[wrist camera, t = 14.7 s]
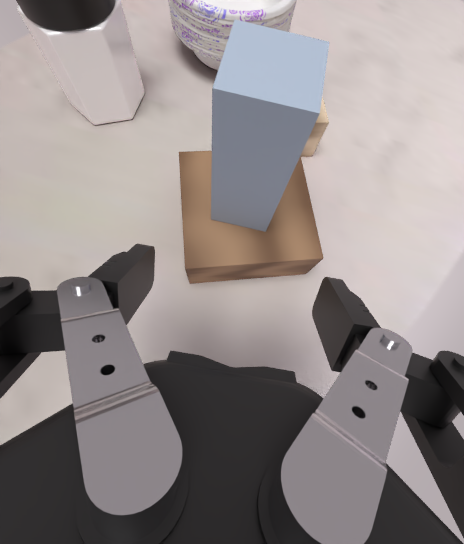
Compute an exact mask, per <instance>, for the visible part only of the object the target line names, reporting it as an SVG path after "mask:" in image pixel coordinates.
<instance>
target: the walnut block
mask: <svg viewBox="0 0 464 544" xmlns="http://www.w3.org/2000/svg"><path fill="white" fill-rule="evenodd" d="M179 163H180V181H181V200H182V218H183V237H184V255H185V270H186V273H187V276H188V279H189V282H190V284H191V283H203V282H215V281H227V280H239V279H251V278H263V277H276V276H288V275H300V274H306V273H307V272H309V271H310V270H311V269H312V268H313V267H314V266H315V265H316V264H318V263H319V262H320V261H321V260H322V259H323V254H322V250H321V245H320V241H319V236H318V232H317V227H316V223H315V218H314V214H313V210H312V205H311V201H310V196H309V192H308V187H307V183H306V178H305V174H304V170H303V165H302V161H301V156H300V158H299V160H298V162H297V164H296V167H295V169H294V171H293V173H292V175H291V177H290V180H289V182H288V184H287V186H286V188H285V191H284V193H283V195H282V197H281V199H280V202H279V204H278V206H277V208H276V210H275V213H274V215H273V217H272V219H271V221H270V223H269V226H268V228H267V230H266V232H264V231H260V230H255V229H251V228H247V227H242V226H238V225H234V224H229V223H225V222H220V221H216V220H212V219H211V174H212V151H194V152H179Z"/></svg>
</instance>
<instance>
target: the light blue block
mask: <svg viewBox="0 0 464 544" xmlns="http://www.w3.org/2000/svg"><path fill="white" fill-rule="evenodd" d="M328 48H329V42H327V41H323V40H319V39H315V38H311V37H307V36H302V35H298V34H294V33H290V32H286V31H282V30H277V29H273V28H269V27H265V26H261V25H256V24H252V23H248V22H244V21H240V20H236V19H235V20H234V23H233V26H232V29H231V32H230V35H229V38H228V42H227V45H226V48H225V51H224V54H223V57H222V60H221V63H220V66H219V70H218V73H217V76H216V79H215V82H214V85H213V89H212V174H211V219H212V220H216V221H220V222H225V223H229V224H234V225H238V226H242V227H247V228H251V229H255V230H260V231H264V232H266V230H267V228H268V226H269V223H270V221H271V219H272V217H273V215H274V213H275V210H276V208H277V206H278V204H279V202H280V199H281V197H282V195H283V193H284V191H285V188H286V186H287V184H288V182H289V180H290V177H291V175H292V173H293V171H294V169H295V167H296V164H297V162H298V160H299V158H300V156H301V153H302V151H303V149H304V147H305V145H306V142H307V140H308V138H309V136H310V134H311V132H312V129H313V127H314V125H315V123H316V121H317V118H318V116H319V114H320V108H321V100H322V93H323V85H324V78H325V70H326V63H327V55H328Z"/></svg>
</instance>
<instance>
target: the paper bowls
mask: <svg viewBox="0 0 464 544" xmlns="http://www.w3.org/2000/svg"><path fill="white" fill-rule="evenodd" d="M295 4H296V0H169V6H170V15H171V21H172V26H173V29H174V31H175V33H176V35H177V36H178V38H179V39H180V40H181V41H182V42H183V43H184V44H185V45H186V46H187V47H188V48H190V49H192V50H193V51H194V53H195V55H196V56H197V57H198V58H199V59H200V60H201V61H202V62H203V63H204V64H206V65H207V66H209V67H211V68H213V69H215V70H219V66H220V63H221V60H222V57H223V54H224V51H225V48H226V45H227V42H228V38H229V35H230V32H231V29H232V26H233V23H234V20H235V19H236V20H240V21H244V22H248V23H252V24H256V25H261V26H265V27H269V28H273V29H277V30H282V31H286V32H289V29H290V24H291V20H292V16H293V12H294V8H295Z"/></svg>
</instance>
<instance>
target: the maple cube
mask: <svg viewBox="0 0 464 544" xmlns="http://www.w3.org/2000/svg"><path fill="white" fill-rule="evenodd" d="M328 123H329V121H328V117H327V113H326V109H325V105H324V101H323V97H322V100H321V108H320V114H319V116H318V118H317V121H316V123H315V125H314V127H313V129H312V132H311V134H310V136H309V138H308V140H307V142H306V145H305V147H304V149H303V151H302V153H301V157H311V156H312V155H313V153H314V151H315V149H316V147H317V145H318V143H319V141H320V139H321V137H322V135H323V133H324V131H325V129H326V127H327V125H328Z"/></svg>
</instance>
